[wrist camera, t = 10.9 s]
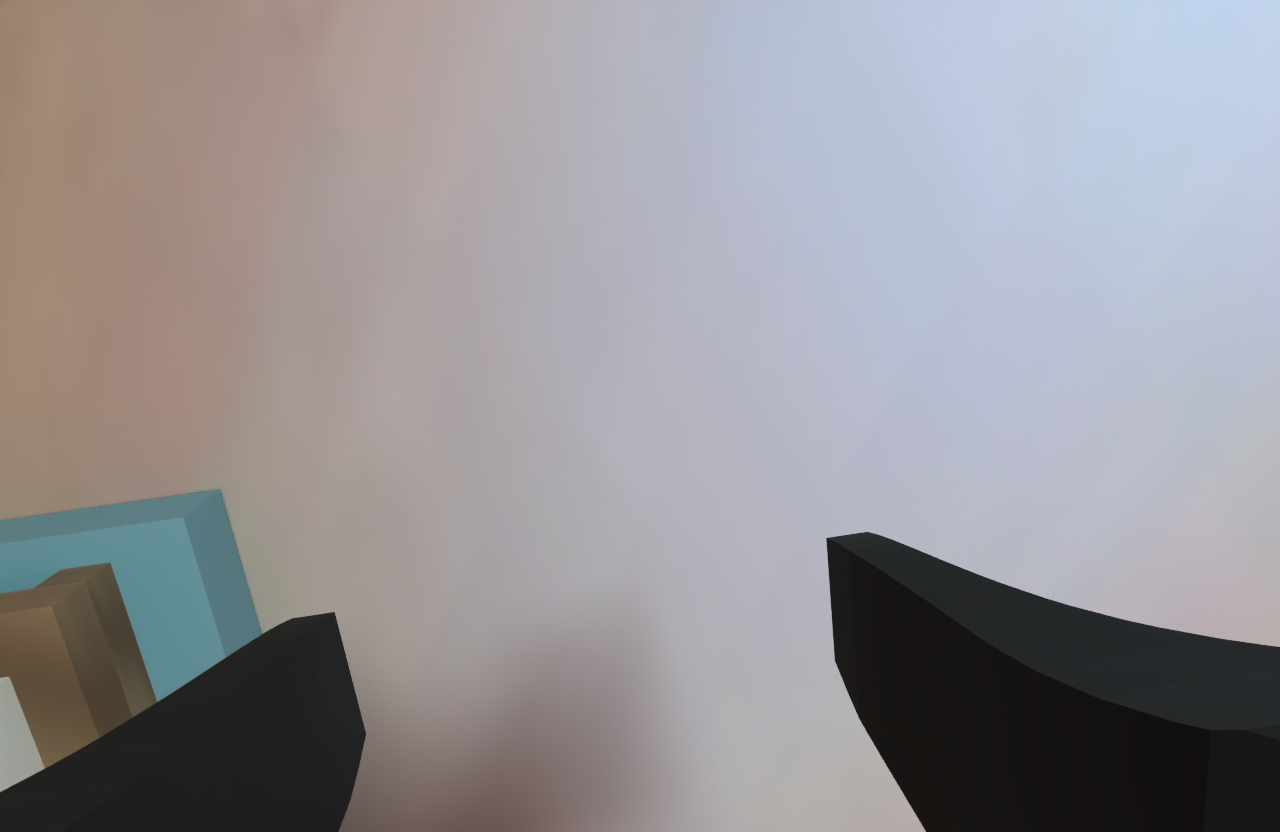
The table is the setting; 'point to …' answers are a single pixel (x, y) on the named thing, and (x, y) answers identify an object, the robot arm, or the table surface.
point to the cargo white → (15, 740)
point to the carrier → (72, 659)
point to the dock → (149, 575)
